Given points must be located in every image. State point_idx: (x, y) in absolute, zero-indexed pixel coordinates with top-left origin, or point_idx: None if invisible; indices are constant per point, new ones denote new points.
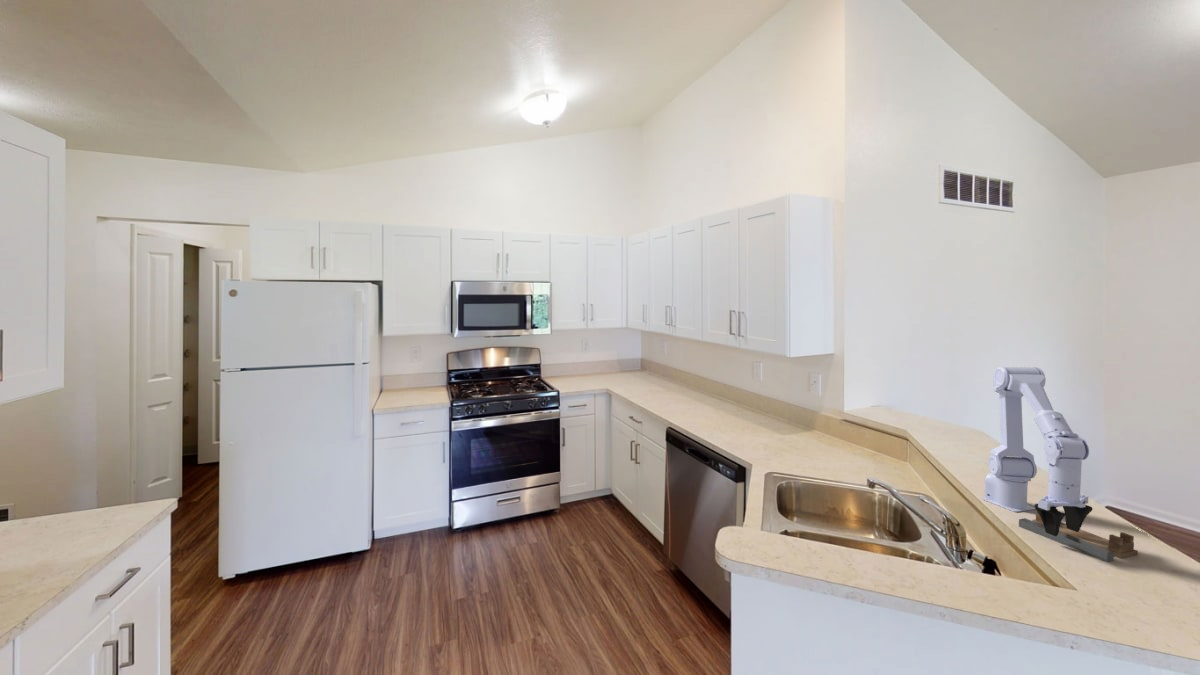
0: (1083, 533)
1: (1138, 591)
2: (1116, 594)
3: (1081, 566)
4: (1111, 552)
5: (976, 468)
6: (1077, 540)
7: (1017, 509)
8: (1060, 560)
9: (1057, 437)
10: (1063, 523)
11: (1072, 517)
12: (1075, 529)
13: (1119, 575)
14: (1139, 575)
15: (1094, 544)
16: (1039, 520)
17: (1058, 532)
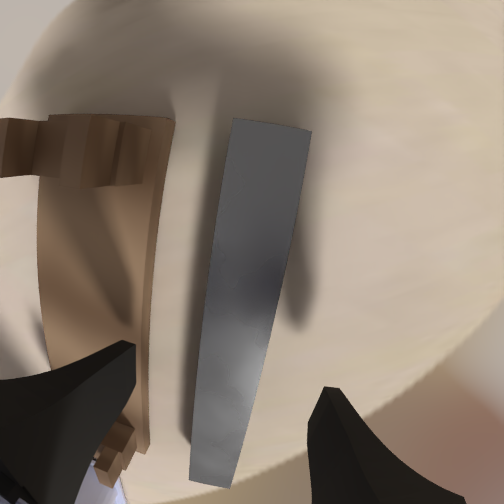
0: (68, 316)
1: (475, 28)
2: None
3: (464, 204)
4: (251, 126)
5: None
6: (243, 309)
7: None
8: (470, 276)
9: None
10: None
11: (91, 422)
12: (129, 357)
13: (409, 75)
14: (315, 23)
15: (146, 246)
16: (133, 445)
17: (330, 399)
